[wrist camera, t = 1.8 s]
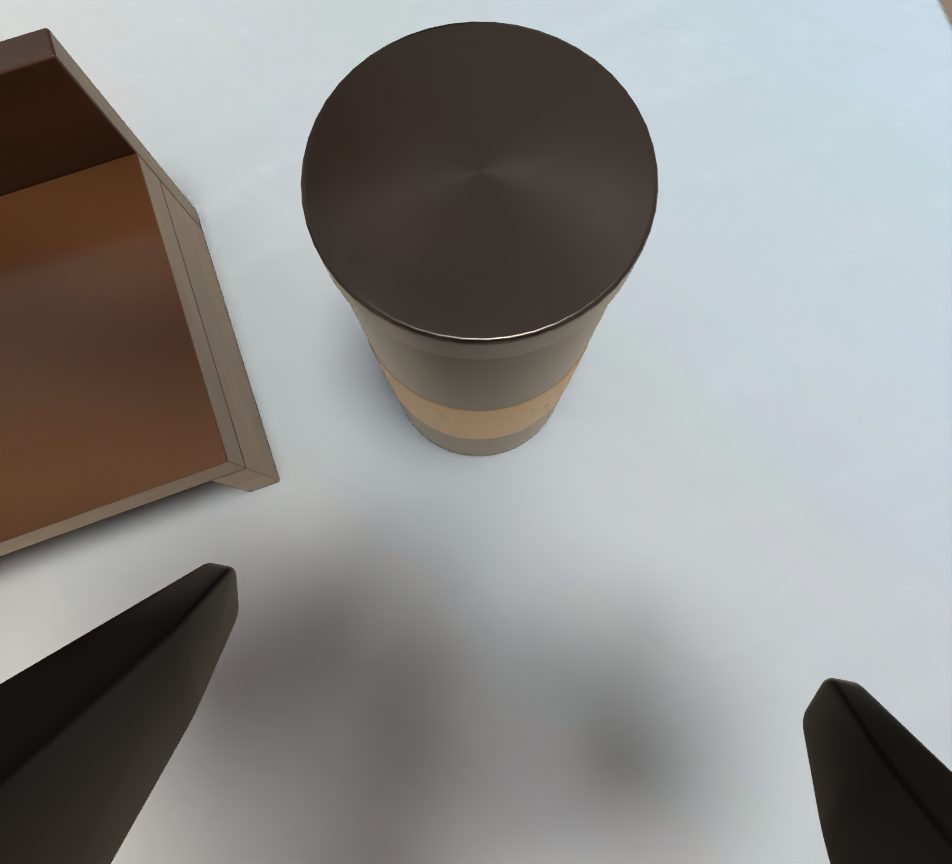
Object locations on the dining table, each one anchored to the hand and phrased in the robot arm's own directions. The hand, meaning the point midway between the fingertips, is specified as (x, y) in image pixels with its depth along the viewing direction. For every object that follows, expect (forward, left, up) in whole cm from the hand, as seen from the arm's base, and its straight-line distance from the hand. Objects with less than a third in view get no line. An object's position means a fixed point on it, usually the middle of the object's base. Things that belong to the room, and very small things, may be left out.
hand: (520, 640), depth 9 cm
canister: (+6, +6, -13) cm, 16 cm away
